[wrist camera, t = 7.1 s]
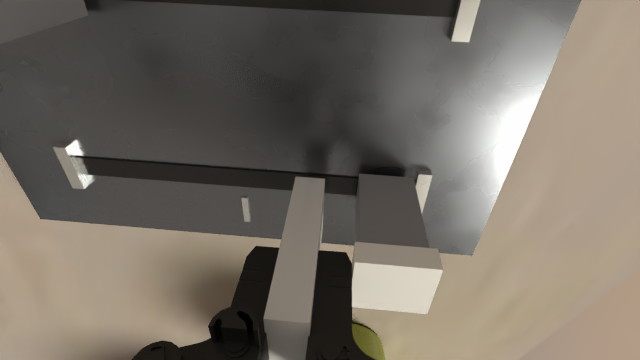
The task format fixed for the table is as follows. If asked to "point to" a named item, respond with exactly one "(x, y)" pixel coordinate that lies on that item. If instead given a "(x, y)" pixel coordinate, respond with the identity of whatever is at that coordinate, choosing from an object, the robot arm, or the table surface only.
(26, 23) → the fader orange
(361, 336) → the plant pot
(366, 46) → the console
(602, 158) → the table surface
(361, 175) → the fader white
